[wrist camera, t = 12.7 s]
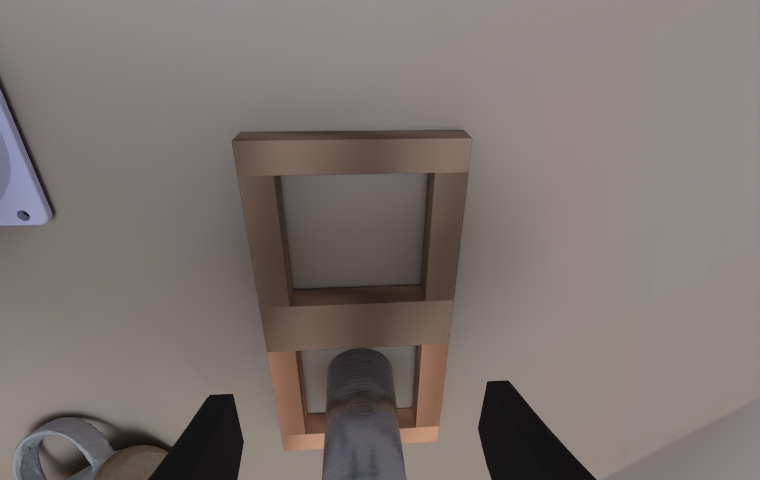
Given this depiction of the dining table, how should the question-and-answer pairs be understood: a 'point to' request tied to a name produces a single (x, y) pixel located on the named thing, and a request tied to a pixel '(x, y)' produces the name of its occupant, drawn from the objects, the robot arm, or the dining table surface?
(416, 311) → the rail
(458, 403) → the dining table surface
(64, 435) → the ceramic mug
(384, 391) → the metal peg
